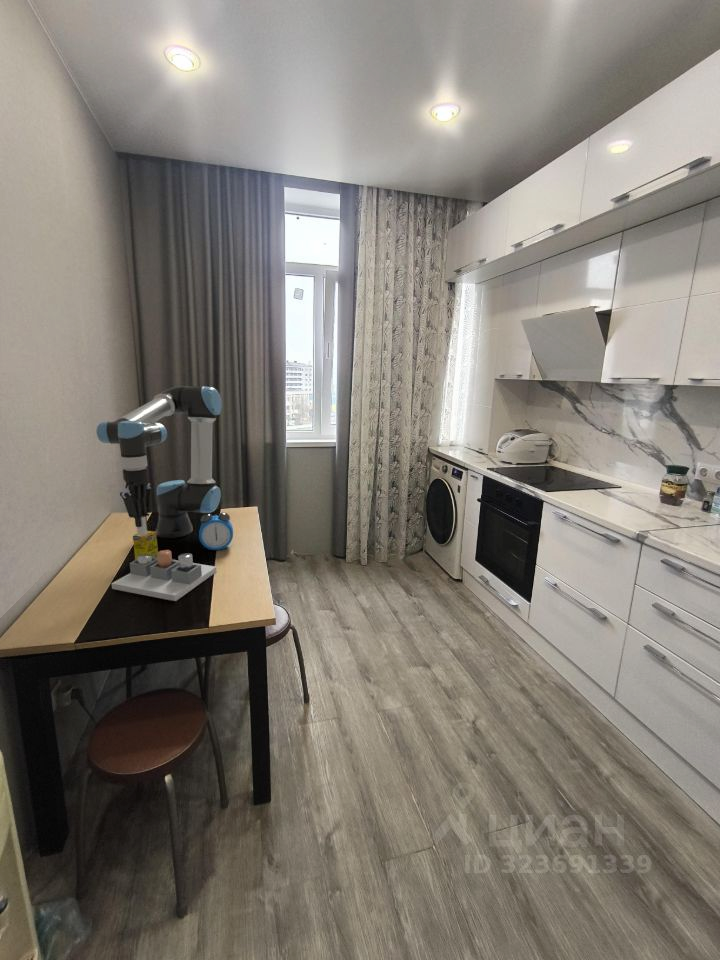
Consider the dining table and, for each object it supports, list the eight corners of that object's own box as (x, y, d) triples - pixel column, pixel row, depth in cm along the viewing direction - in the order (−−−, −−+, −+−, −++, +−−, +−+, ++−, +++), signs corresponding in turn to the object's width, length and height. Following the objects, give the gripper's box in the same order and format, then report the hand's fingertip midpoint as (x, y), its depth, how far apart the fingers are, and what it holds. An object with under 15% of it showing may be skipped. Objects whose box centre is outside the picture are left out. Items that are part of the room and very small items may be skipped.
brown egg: (164, 562, 153) (163, 549, 152) (175, 564, 152) (173, 550, 151) (155, 567, 149) (154, 554, 148) (166, 569, 148) (165, 555, 147)
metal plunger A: (145, 566, 156) (143, 553, 155) (155, 567, 155) (154, 554, 154) (135, 571, 152) (134, 557, 151) (146, 573, 151) (145, 559, 150)
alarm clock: (200, 552, 175) (197, 517, 171) (200, 546, 181) (198, 512, 177) (233, 549, 179) (232, 514, 175) (233, 543, 184) (231, 510, 181)
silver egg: (185, 565, 151) (184, 552, 150) (196, 567, 150) (195, 554, 148) (176, 571, 147) (175, 557, 145) (187, 573, 146) (186, 559, 144)
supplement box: (149, 564, 163) (146, 537, 161) (135, 562, 165) (132, 535, 162) (159, 557, 169) (156, 531, 166) (145, 556, 170) (142, 529, 168)
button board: (159, 562, 165) (157, 547, 164) (216, 571, 159) (215, 556, 157) (112, 588, 145) (110, 572, 143) (175, 601, 138) (174, 584, 137)
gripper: (140, 463, 151) (147, 526, 157) (110, 471, 139) (118, 540, 145) (158, 464, 149) (164, 529, 155) (129, 473, 137) (137, 542, 143)
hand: (142, 534), depth 150 cm, fingers closed
